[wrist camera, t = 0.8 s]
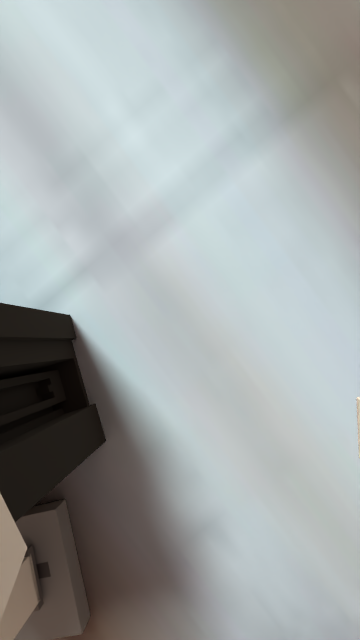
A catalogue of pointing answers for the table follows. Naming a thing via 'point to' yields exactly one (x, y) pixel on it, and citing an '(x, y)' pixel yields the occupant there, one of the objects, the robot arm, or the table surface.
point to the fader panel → (54, 574)
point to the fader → (22, 598)
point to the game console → (40, 406)
